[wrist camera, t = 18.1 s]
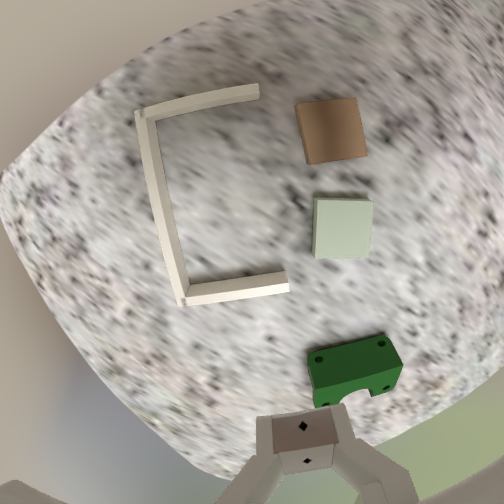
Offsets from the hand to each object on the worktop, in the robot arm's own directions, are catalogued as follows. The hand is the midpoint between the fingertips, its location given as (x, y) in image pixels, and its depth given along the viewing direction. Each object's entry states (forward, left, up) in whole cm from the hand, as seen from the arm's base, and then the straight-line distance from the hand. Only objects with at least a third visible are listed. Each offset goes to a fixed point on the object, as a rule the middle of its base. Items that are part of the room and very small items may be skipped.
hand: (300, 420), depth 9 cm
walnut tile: (-8, -10, -23) cm, 26 cm away
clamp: (-10, +18, -24) cm, 31 cm away
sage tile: (-8, 0, -23) cm, 24 cm away
